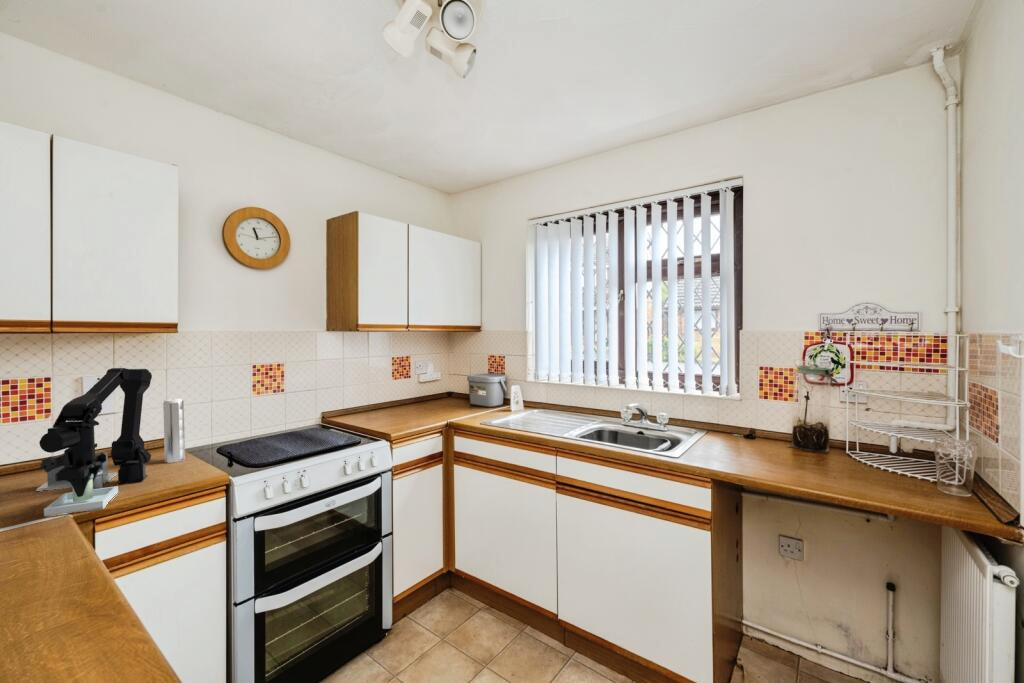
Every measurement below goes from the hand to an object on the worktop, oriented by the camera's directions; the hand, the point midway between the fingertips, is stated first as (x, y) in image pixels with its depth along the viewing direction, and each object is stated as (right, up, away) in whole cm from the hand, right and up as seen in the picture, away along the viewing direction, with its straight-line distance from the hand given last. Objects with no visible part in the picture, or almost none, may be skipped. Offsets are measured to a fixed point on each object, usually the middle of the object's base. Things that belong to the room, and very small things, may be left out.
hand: (83, 493), depth 132 cm
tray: (0, -3, 0) cm, 3 cm away
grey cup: (-6, -3, +9) cm, 12 cm away
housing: (-20, -3, +19) cm, 28 cm away
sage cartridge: (0, -2, 0) cm, 2 cm away
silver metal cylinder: (-6, -2, +44) cm, 45 cm away
